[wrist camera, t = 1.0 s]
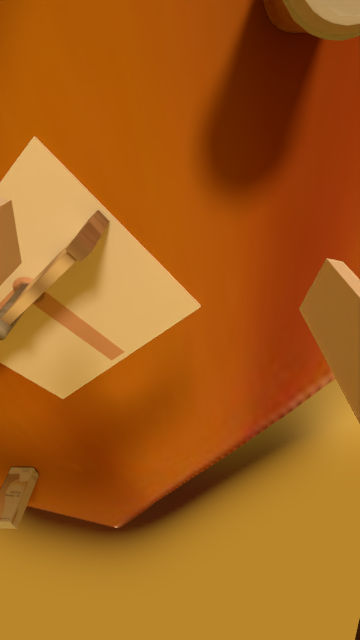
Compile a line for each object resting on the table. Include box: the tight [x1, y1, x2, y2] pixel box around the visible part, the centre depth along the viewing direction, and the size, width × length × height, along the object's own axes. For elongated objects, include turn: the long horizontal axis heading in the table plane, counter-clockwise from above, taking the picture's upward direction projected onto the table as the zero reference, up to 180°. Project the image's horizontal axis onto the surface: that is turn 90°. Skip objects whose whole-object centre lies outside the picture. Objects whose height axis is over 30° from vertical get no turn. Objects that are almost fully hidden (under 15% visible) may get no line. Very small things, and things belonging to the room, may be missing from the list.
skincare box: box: [0, 467, 39, 529], centre depth 71 cm, size 6×4×12 cm
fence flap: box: [1, 210, 110, 325], centre depth 34 cm, size 15×2×9 cm, turn 131°
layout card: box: [0, 136, 201, 399], centre depth 44 cm, size 28×34×1 cm
